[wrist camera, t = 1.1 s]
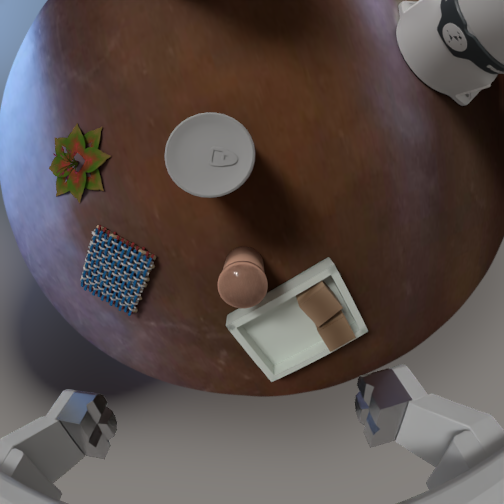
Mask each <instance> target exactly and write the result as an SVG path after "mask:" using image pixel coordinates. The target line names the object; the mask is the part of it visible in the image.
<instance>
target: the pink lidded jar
mask: <svg viewBox="0 0 504 504" xmlns="http://www.w3.org/2000/svg"><path fill="white" fill-rule="evenodd" d="M267 289H268V283H267V278H266V275H265V273H264V265H263V259H262V257H261V255H260V254H259V253H258V252H257V251H256V250H255V249H253V248H251V247H246V246H242V247H237V248H235V249H233V250H232V251H231V252H230V253H229V254H228V255H227V257H226V260H225V264H224V268H223V270H222V272H221V274H220V276H219V279H218V291H219V294H220V296H221V297H222V299H223V300H224V301H225V302H226V303H228V304H229V305H231V306H233V307H236V308H250V307H253V306H255V305H257V304H258V303H260V302H261V301H262V300H263V298H264V297H265V295H266V293H267Z"/></svg>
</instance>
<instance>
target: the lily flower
mask: <svg viewBox="0 0 504 504" xmlns="http://www.w3.org/2000/svg"><path fill="white" fill-rule="evenodd" d="M102 127H103V126H102ZM102 127H101V128H98V129H96V130H95V131H94V130H92V131H89V132H88V133H86V134H85V135H84V136H83V135H82V133H81V131H80V128H79V127H78V123H77V124H76V126H75V127H74V129H73V131H72V132H71V133H70V135H69V136H68V138H58V139H57V138H55V145H56V146H55V151H56V155H55V154H54V155H55V156H56V157H55V158H54V160H53V162H52V164H51V166H50V167H49V169H50V170H51V171H53V174H54V175H55V176H57V181H56V190H57V193H56V197H57V196H58V195H61V194H64V193H66V192H68V191H70V192H71V194H72V195H73V196H74V197H75V198H77V199H78V201H79V203H80V200H81V195H82V194H83V190H84V187H85V188H87V189H90V190H98V189H100V190H102V191H104V190H103V187H102V183H101V177H100V173H99V170H98V167H99V166H100V165H101V164H103V163H104V162H105V160H106V159H108V158H109V157H111V156H109V155H107V154H106V153H102V151H100V150H99V149H98V146H99V141H100V136H101V130H102ZM91 142H92V144H91V147H89V148H86V149H85V145H86V144H88V143H91ZM62 146H64V147H66V150H67V153H64V149H63V147H62ZM77 152H78V153H79V154H80V155H81V156H82V157H83V158H84V159H85V163H84V165H83V167H82V168H81V170H80V171H79V172H77V171H76V167H77V165H78V161H75V159H74V156H75V155H76V153H77ZM72 160H73V161H72ZM71 163H73V164H71ZM74 165H75V167H74V168H75V170H74V168H72V166H74ZM85 172H87V173H90V172H91V177H86V173H85ZM66 176H68V178H67V181H66V182H65V178H66Z"/></svg>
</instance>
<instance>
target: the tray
mask: <svg viewBox="0 0 504 504" xmlns="http://www.w3.org/2000/svg"><path fill="white" fill-rule="evenodd" d="M321 280H323V281H324V282H325V283H326V284H327V286H328V287H329V288H330V289H331V290H332V291H333V293H334V294H335V295H336V297H337V298H338V300H339V302H340V303H341V305H342V307H343V308H342V309H341V311H342V312H343V314H344V316H345V318H346V319H347V321H348V323H349V325H350V327H351V329H352V331H353V333H354V335H355V337H356V338H358V337H360V336H361V335H363V334H365V333H366V332H368V330H367V328H366V325H365V323H364V321H363V319H362V317H361V315H360V313H359V311H358V309H357V307H356V305H355V303H354V301H353V299H352V297H351V295H350V293H349V291H348V289H347V287H346V285H345V283H344V282H343V280H342V278H341V276H340V274H339V272H338V270H337V268H336V266H335V265H334V263H333V262H332V261H331V259H330V258H329V257H327V258H326V259H324V260H322V261H321V262H319V263H317V264H316V265H314V266H312V267H311V268H309V269H307V270H306V271H304V272H302V273H301V274H299V275H297V276H295V277H294V278H292V279H290V280H289V281H287V282H285V283H283V284H282V285H280V286H278V287H276V288H275V289H273V290H271V291H269V292H268V293H266V295H265V297H264V298H263V300H262V301H261V302H260V303H258V304H257V305H255V306H253V307H250V308H239V309H237V310H235V311H233V312H232V313H230V314H228V315H227V321H226V327H227V328H228V329H229V331H230V332H231V333H232V334H233V336H234V337H235V338H236V339H237V341H238V342H239V343H240V344H241V346H242V347H243V348H244V349H245V351H246V352H247V353H248V354H249V356H250V357H251V358H252V359H253V360H254V362H255V363H256V364H257V365H258V366H259V368H260V369H261V370H262V371H263V372H264V374H265V375H266V376H267V377H268V378H269V380H270V381H271V382H273V381H275V380H277V379H280V378H282V377H284V376H286V375H288V374H290V373H292V372H294V371H296V370H298V369H300V368H302V367H304V366H306V365H308V364H310V363H312V362H314V361H316V360H318V359H320V358H322V357H324V356H326V355H328V354H330V353H331V352H333V351H335V350H337V349H339V348H340V347H342V346H344V345H346V344H348V343H349V342H351V341H353V340H355V339H356V338H354V339H353V340H351V341H349V342H347V343H346V344H344V345H342V346H340V347H338V348H337V349H335V350H333V351H331V352H330V351H329V349H328V347H327V346H326V344H325V343H324V341H323V339H322V338H321V336H320V335H319V333H318V331H317V328H316V325H315V323H314V322H313V321H312V320H311V319H310V318H309V317H308V316H307V315H306V314H305V313H304V312H303V310H302V309H301V308H300V307H299V304H298V301H297V298H296V295H297V294H299V293H301V292H303V291H304V290H306V289H308V288H310V287H311V286H313V285H315V284H316V283H318V282H320V281H321Z"/></svg>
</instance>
